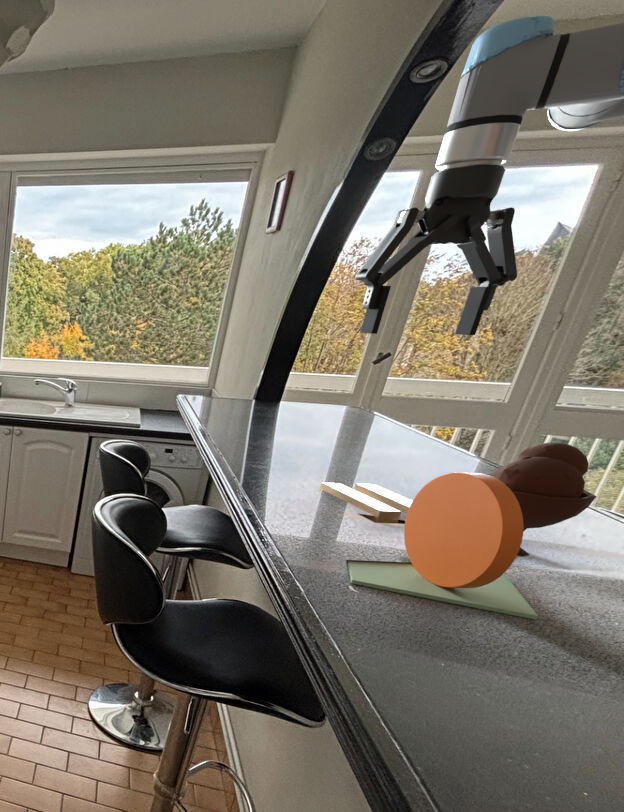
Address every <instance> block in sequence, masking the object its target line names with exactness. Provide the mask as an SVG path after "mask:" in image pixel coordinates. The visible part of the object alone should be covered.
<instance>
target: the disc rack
mask: <svg viewBox="0 0 624 812" xmlns="http://www.w3.org/2000/svg"><path fill="white" fill-rule="evenodd" d="M319 489H320V490H322V491H324V492H326V493H328V494H330V495H332V496H334V497H335V498H338V499H340V500H342V501H344V502H346V503H348V504H349V505H352V506H354V507H356V508H358V509H359V510H362V511H364V512H366V513H367V514H365V513H356V514H357V515H359V516H361V517H363V518H365V519H367V520H369V521H371V522H373V523H374V524H398V525H399V524H402V525H405V520H406V519H405V520H404V519H400V517H401V515H402V513H404V514H406V515H407V513H408V510H409V507H410V505H411V503H412V501H413V499H410V498H407V497H405V496H403V495H400V494H398V493H395V492H394V491H391V490H389V489H387V488H384V487H382V486H379V485H378V484H375V483H355V485H354V488H352V487H349V486H347V485H345V484H342V483H340V482H320V486H319Z"/></svg>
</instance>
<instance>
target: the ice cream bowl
mask: <svg viewBox="0 0 624 812" xmlns="http://www.w3.org/2000/svg"><path fill="white" fill-rule="evenodd" d="M518 454H519V455H518V456H517V459H516V460H514V461H510V462H509V463H507V464H506V465H503V466H500V467H499V468H498V469H496V470H494V472H493V473H492V474H488V473H486V474H487V475H490V476H493V477H495V478H497V479H499V480H500V481H502V482H503V483H504V484H505V485H506V486H507V487H508V488H509V489H510V490H511V491H512V492H513V494H514V495H515V497H516V499H517V501H518V502H519V505H520V508H521V511H522V516H523V525H524V526H523V533H524V532H526V530H527V529H541V528H544V527H549V526H553V525H556V524H559V523H563V522H564V521H567V520H569V519H572V518H575V517H577V516H578V515H580V514H581V513H583V512H584V511H585V510H587V509H588V508H589V507H590V506H591V504H592V503H593V502H594V501H595V499H596V498H597V497H598V496H597V495H595V494H594V493H591V492H589V491H587V490H585V485H586V482H585V478H584V475H586V474H587V472H588V470H589V461H588V458H587V456H586V455H585V454H584V453H583V451H581V450H580V449H579V448H578V447H575V446H574V445H571V444H569V443H563V442H553V441H552V442H551V441H550V442H544V443H539V444H536V445H533V446H529V447H527V448H526V449H524V450H523V451H521V452H520V453H518ZM529 555H530V553H529V552H527V551H526V550H525V549H523V548H522V547H521V546H520V549H519V552H518V554H517V556H516V557H527V556H529Z"/></svg>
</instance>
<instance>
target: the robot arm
mask: <svg viewBox="0 0 624 812" xmlns="http://www.w3.org/2000/svg"><path fill="white" fill-rule="evenodd" d="M554 28H555V19H553V17H551V16H548V15H536V16H523V17H518V18H514V19H511V20H505V21H503V22H500V23H498V24H495V25H493V26H491V27H489V28H487V29H486V30H485V31H483V32H482V33H481V34H480V35H478V36H477V38H476V39H475V41H474V42H473V43H472V45H471V49H470V51H469V53H468V56H467V60H466V62H465V66H464V68H463V71H462V73H461V75H460V79H459V82H458V87H457V90H456V94H455V97H454V100H453V104H452V107H451V111H450V114H449V118H448V122H447V124H446V128H445V131H444V135H443V139H442V142H441V145H440V149H439V152H438V155H437V159H436V162H435V166H434V168H436V169H437V170H438V171H436V172H435V173H434V174H433V175H431V178H430V181H429V184H428V187H427V191H426V193H425V197H424V202H425V205H424V207H423V209H422V210H419V208H418V207H410V208H405V209H401V210H399V211H398V212H397V213H396V217H395V219H394V222H393V224H392V226H391V228H390V229H389V231H388V232H387V233H386V234H385V236H384V237H383V239H382V240H381V241H380V243H379V244H378V246H377V247H375V249H374V251H373V252H372V253H371V255H370V256H369V257H368V258H367V260H366V261H365V263H363V265H362V267H361V268H360V269H359V271H358V272H357V273H356V275H355V280H356V281H358V282H362V283H363V285H364V286H365V287H366V292H365V294H364V298H363V301H362V310H365V314H364V317H363V321H362V324H361V328H360V332H359V333H360V334H371V335H372V334H374V335H377V334H378V331H379V328H380V325H381V321H382V318H383V314H384V312H385V308H386V304H387V302H388V297H389V294H390V291H391V287H392V285H385V284H386V283H387V282H389V281H390V280H391V279H392V278H393V277H394V276H395V275H396V274H398V272H400V271H401V270H402V269H403V268H404V267H405V266H406V265H408V264H409V263H410V262H411V261H412V260H413V259H414V258H415V257H417V256H418V255H419V254H420V253H421V252H422V251H423V250H424V249H426V248H427V247H430V246H438V245H443V246H456V247H457V248H458V249H460V250H461V251H462V253H463V256H464V258H465V259H466V262H467V264H468V266H469V268H470V270H471V272H472V275H473V276H474V278H475V280H476V282H477V285H478V286H470V289H469V292H468V295H467V298H466V300H465V303H464V307H463V310H462V312H461V315H460V318H459V320H458V324H457V327H456V330H455V333H454V335H461V336H476V334H477V330H478V329H479V325H480V322H481V319H482V316H483V313H484V311H488V310H489V308H491V304H492V301H493V299H494V296H495V293H496V291H497V288H498V287H503V286H504V285H505V284H506V283H509V282H514V281H516V279H517V278H518V268H517V261H516V251H515V244H514V235H513V229H512V228H513V227H512V226H513V221H514V216H515V212H516V209H515V208H514V207H506V208H499V209H494V210H491V204H492V202H493V200H494V199H495V198H496V196H497V195H498V193H499V190H500V187H501V184H502V181H503V179H504V176H505V172H506V168H505V166H503V165H502V164H505V163H506V162H508V161H509V160H511V156H512V153H513V150H514V147H515V143H516V140H517V137H518V134H519V131H520V128H521V124H522V122H523V119H524V118H523V117H524V115H525V113H526V112H527V111H533V110H534V111H538V110H543V109H547V118H548V121H549V122H550V124H551V126H552V127H554V128H556V129H557V130H560V131H564V132H575V131H581V130H585V129H588V128H591V127H593V126H595V125H598V124H600V123H602V122H605V121H610V120H611V121H612V120H617V119H622V118H624V22H621V23H616V24H611V25H605V26H600V27H596V28H595V27H594V28H589V29H585V30H580V31H575V32H568V33H563V34H562V33H557V34H554V33H555V30H554ZM417 224H418V226H419V229H420V230H418V231H416V233H415V234H414V235H413V236H412V237H410V239H408V241H407V243H406V244H405V245H404V246H403V247H402V248H400V249H399V250H398V251H397V252H396V253H395V254H394V255H393V253H394V252H395V251H396V250H397V248H398V247H399V246H400V244H402V242H403V241H404V239H405V238H406V237H407V236H408V234H409V233H410V231H411V230H412V228H413V227H415V226H416V225H417ZM483 226H485V227H486V228H487V229H486V235H487V237H486V235H485V233H484V231H483V228H482V227H483ZM486 241H487V243H488V246H487V244H486ZM392 255H393V256H392Z"/></svg>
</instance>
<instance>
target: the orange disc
mask: <svg viewBox="0 0 624 812" xmlns="http://www.w3.org/2000/svg"><path fill="white" fill-rule="evenodd" d="M487 474H488V473H482V472H462V471H461V472H457V471H456V472H455V471H454V472H448V473H445V474H441V475H439V476H437V477H435V478H433V479H432V480H429V481H428V482H427V483H426V484H424V485H423V486H422V488H421V489H420V490H419V491H418V492H417V493H416V495H415V497H414V498H413V499H412V503H411V505H410V507H409V510H408V513H407V514H406V515H405V524H404V527H403V528H404V530H403V531H404V532H403V539H404V547H405V551H406V554H407V557H408V559H409V562H411V563H412V565H413V566H414V568H415V569H416V571H417V572H418V573H419V574H420V575H421V576H422V577H423V578H425V579H426V580H428V581H429V582H431V583H433V584H435V585H438V586H442V587H450V588H476V587H481V586H484V585H487V584H489V583H491V582H493V581H495V580H496V579H498V578H499V577H500V576H502V575H505V573H506V572H507V571H508V570H509V569H510V567H511V566H512V565H513V563H514V562H515V560H516V558H517V557H518V556H517V554H518V552H519V549H520V547H521V546H522V543H523V537H524V532H523V526H524V525H523V516H522V511H521V508H520V505H519V502H518V501H517V499H516V497H515V495H514V494H513V492H512V491H511V490H510V489H509V488H508V487H507V486H506V485H505V484H504V483H503V482H502V481H500V480H499V479H497V478H495V477H493V476H490V475H491V474H489V475H487Z"/></svg>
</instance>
